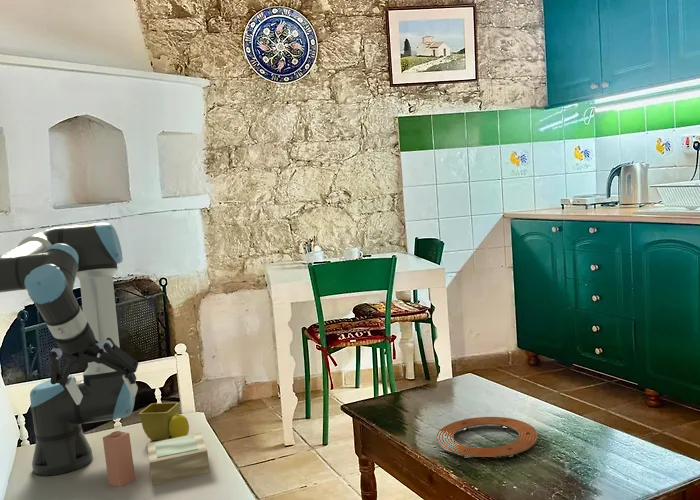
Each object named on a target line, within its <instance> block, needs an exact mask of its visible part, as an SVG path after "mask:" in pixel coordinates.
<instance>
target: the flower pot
mask: <svg viewBox="0 0 700 500" xmlns="http://www.w3.org/2000/svg"><path fill="white" fill-rule="evenodd" d="M179 406H180V405H179V402H160V403H159V402H157V403H150V404H149V405H148V406H147V407H144V409H142V410H141V411H140V412H139V413H138V415H139V418H140V422H141V426H142V429H143V431H144V434H145V435H146V436H147V437H148V438H149V439H150V441H162V440H167V439H168V438H169V437H170V436H171V434H170V431H169V423H170V420H171V418H172V417H173V416H175V415H176V414H180V413H179V409H180V407H179ZM171 437H172V436H171ZM171 437H170V438H171ZM170 438H169V439H170Z"/></svg>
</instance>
